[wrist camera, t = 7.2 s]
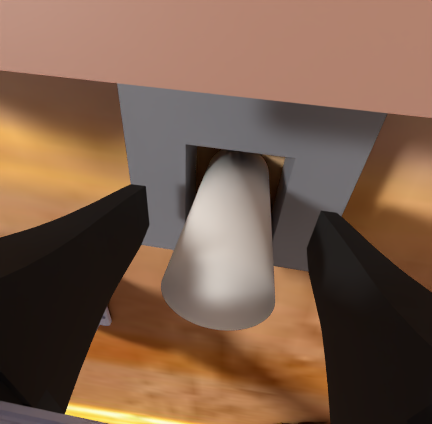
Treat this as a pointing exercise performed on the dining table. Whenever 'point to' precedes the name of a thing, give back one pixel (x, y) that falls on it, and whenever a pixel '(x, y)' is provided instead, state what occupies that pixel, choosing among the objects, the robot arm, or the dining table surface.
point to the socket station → (238, 90)
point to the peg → (225, 248)
